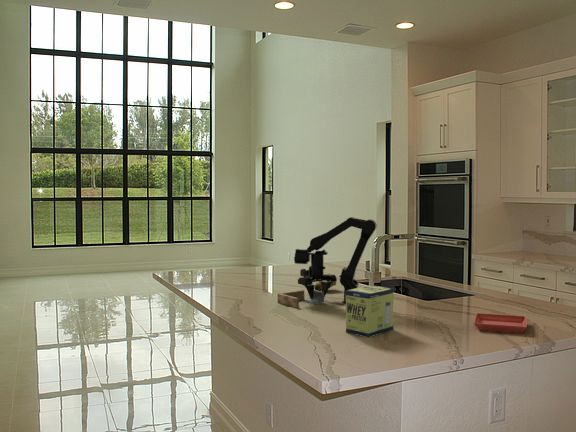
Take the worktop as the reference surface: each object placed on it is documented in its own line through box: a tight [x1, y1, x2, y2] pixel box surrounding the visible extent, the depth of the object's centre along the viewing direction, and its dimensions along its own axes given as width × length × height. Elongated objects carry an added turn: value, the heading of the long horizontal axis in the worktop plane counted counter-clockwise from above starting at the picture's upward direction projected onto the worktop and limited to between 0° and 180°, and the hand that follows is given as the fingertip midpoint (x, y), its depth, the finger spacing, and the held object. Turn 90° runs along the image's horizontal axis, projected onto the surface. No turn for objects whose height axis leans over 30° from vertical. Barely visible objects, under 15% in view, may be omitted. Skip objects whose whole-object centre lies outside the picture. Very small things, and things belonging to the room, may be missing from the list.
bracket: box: [303, 289, 325, 305], centre depth 264 cm, size 8×6×5 cm
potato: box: [314, 277, 338, 292], centre depth 291 cm, size 8×13×8 cm, turn 109°
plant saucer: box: [473, 312, 528, 334], centre depth 215 cm, size 18×18×3 cm
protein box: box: [345, 284, 394, 338], centre depth 211 cm, size 10×16×16 cm
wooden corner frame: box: [277, 289, 305, 308], centre depth 262 cm, size 14×15×4 cm
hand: (317, 298), depth 265 cm, fingers open, 7 cm apart
